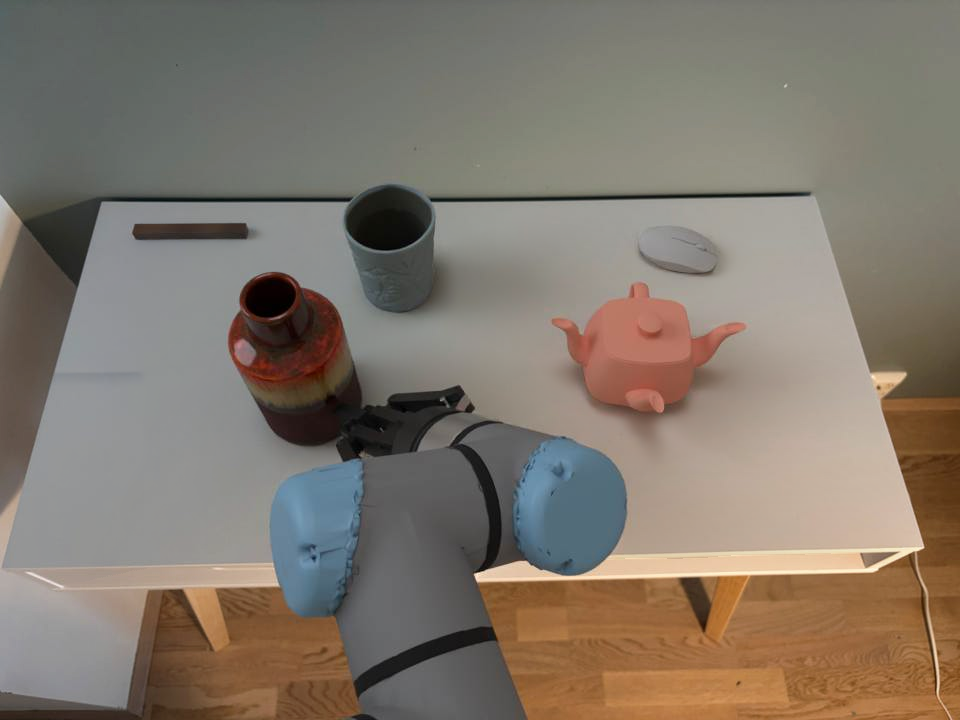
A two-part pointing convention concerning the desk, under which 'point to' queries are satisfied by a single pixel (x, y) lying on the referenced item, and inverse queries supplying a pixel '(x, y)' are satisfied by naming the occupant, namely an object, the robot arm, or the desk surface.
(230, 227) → the strip
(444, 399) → the robot arm
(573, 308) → the desk surface
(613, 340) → the teapot
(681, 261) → the computer mouse
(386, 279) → the grey-blue ceramic planter
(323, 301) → the vase
